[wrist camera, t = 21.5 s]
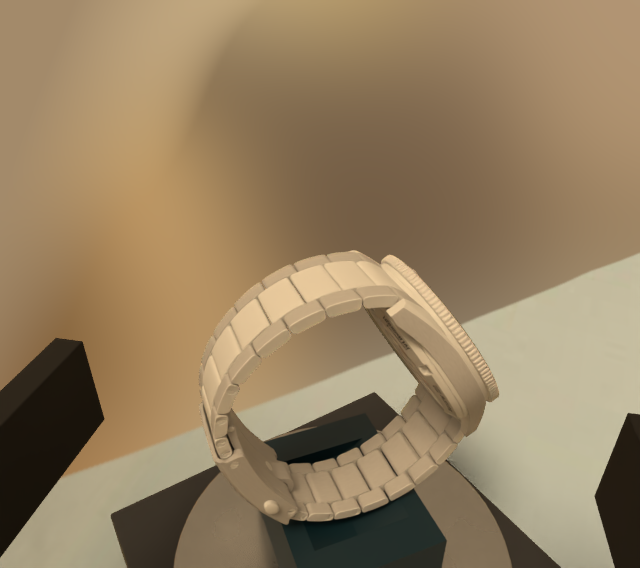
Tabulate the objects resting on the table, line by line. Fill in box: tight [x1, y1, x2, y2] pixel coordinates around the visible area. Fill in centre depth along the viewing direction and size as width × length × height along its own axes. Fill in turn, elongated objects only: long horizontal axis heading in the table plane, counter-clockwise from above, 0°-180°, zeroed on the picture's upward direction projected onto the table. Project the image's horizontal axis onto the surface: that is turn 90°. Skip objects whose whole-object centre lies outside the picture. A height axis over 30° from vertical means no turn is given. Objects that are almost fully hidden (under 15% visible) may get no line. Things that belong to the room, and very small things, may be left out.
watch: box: [199, 250, 499, 568], centre depth 16 cm, size 6×8×11 cm
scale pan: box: [173, 426, 512, 568], centre depth 19 cm, size 12×12×1 cm
